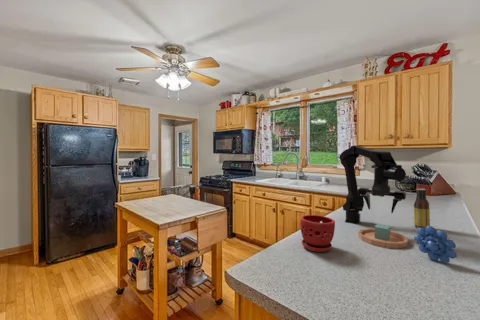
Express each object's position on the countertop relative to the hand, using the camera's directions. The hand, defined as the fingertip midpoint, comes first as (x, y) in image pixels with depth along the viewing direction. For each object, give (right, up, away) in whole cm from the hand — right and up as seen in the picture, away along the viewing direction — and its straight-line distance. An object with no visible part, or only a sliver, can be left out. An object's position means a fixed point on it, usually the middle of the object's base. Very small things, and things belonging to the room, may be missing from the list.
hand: (380, 211), depth 106 cm
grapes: (+2, -12, -27) cm, 29 cm away
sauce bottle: (+26, -11, +9) cm, 30 cm away
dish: (-4, -11, -7) cm, 13 cm away
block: (-4, -10, -7) cm, 13 cm away
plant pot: (-35, -12, -15) cm, 39 cm away
